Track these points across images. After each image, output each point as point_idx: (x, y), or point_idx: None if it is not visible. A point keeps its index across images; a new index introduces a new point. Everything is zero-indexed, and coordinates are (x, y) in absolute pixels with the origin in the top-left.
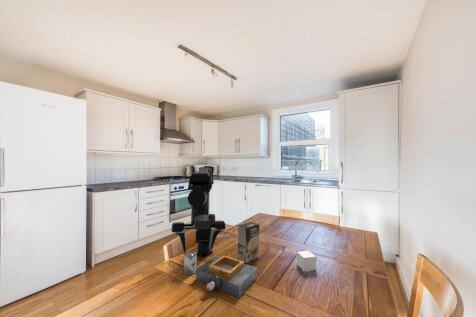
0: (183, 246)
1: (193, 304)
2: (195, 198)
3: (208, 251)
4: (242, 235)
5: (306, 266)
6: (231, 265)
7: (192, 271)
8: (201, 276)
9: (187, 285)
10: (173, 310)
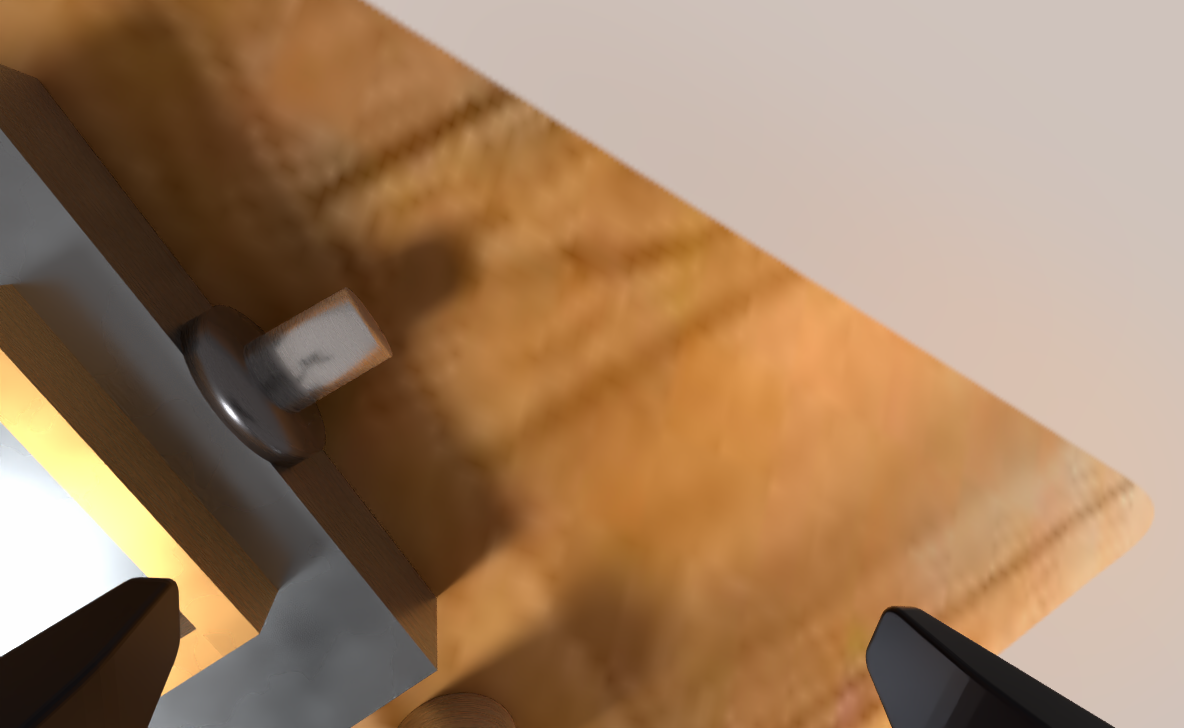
0: (1092, 723)
1: (558, 240)
2: None
3: None
4: None
5: None
6: None
7: (445, 718)
8: (386, 569)
9: (537, 531)
10: (722, 251)
